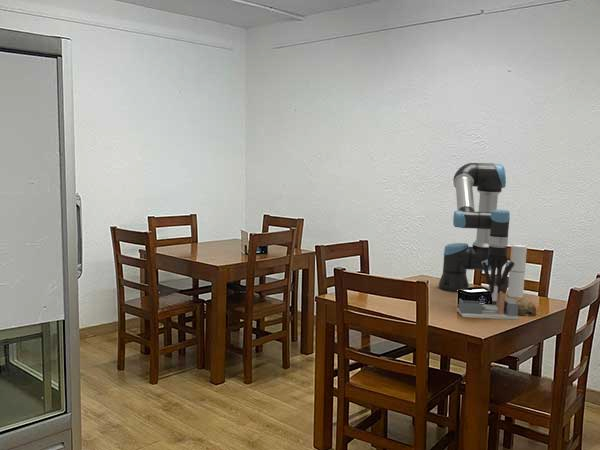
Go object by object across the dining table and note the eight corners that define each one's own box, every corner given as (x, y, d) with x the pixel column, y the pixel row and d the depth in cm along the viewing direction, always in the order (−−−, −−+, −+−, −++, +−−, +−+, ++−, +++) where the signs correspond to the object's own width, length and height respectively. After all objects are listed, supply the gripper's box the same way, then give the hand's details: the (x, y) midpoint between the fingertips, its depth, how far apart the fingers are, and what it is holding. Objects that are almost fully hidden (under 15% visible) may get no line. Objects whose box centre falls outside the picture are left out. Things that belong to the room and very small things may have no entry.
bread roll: (516, 323, 266) (523, 309, 262) (505, 308, 274) (510, 294, 270) (536, 322, 268) (542, 308, 264) (524, 307, 277) (530, 293, 273)
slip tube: (476, 310, 267) (478, 290, 266) (510, 311, 267) (511, 291, 266) (479, 313, 263) (480, 292, 262) (513, 314, 262) (514, 294, 261)
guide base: (456, 309, 271) (457, 295, 270) (509, 312, 270) (510, 297, 270) (463, 317, 259) (464, 302, 258) (518, 319, 258) (519, 304, 258)
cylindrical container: (507, 296, 300) (511, 246, 298) (507, 293, 307) (511, 244, 304) (523, 298, 298) (527, 247, 295) (522, 295, 305) (526, 245, 302)
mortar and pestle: (497, 299, 293) (500, 258, 291) (514, 303, 287) (517, 261, 284) (483, 302, 286) (486, 260, 284) (500, 306, 279) (503, 263, 277)
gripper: (485, 246, 258) (481, 301, 260) (516, 248, 257) (512, 303, 260) (480, 244, 265) (476, 297, 268) (510, 245, 265) (506, 298, 267)
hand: (494, 300), depth 264 cm, fingers closed
